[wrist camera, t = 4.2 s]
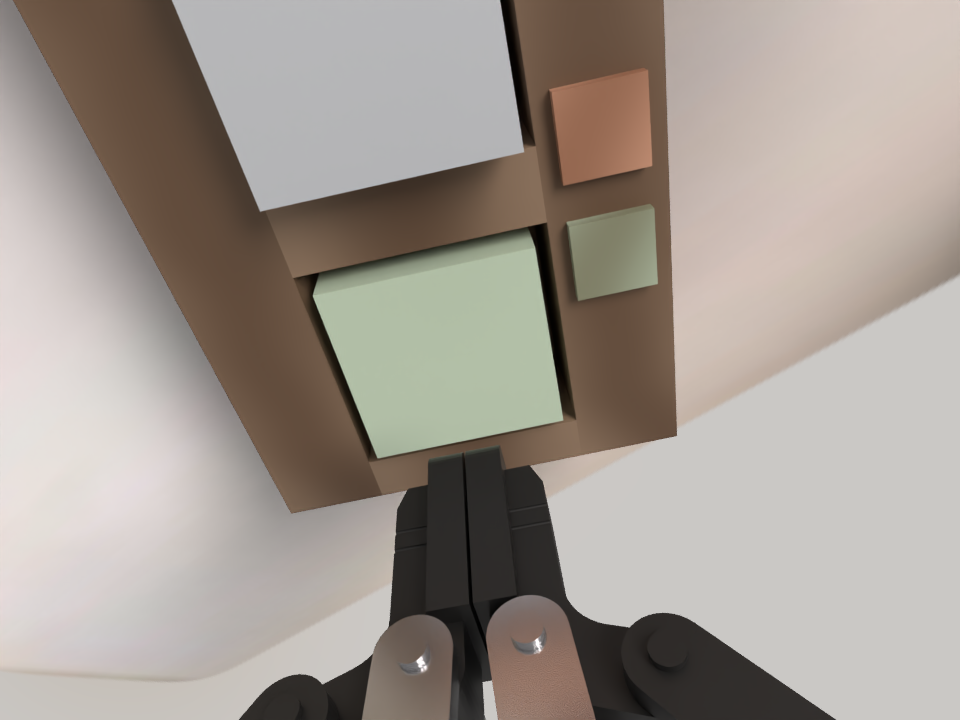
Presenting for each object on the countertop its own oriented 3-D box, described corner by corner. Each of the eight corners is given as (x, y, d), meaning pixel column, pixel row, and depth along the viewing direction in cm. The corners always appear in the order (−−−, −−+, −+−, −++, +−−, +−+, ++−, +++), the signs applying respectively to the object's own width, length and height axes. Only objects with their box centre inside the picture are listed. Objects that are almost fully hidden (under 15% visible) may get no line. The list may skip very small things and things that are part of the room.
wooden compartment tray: (518, -1025, 10) (614, -1975, 5) (627, 338, 24) (680, 442, 19) (-219, -793, 10) (-782, -1429, 5) (315, 403, 24) (289, 521, 19)
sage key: (518, 202, 17) (535, 247, 15) (546, 360, 20) (563, 420, 18) (327, 244, 18) (312, 295, 15) (383, 394, 21) (377, 458, 18)
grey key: (457, -178, 12) (466, -206, 10) (507, 115, 15) (524, 152, 13) (182, -109, 12) (122, -119, 10) (286, 165, 15) (260, 211, 13)
